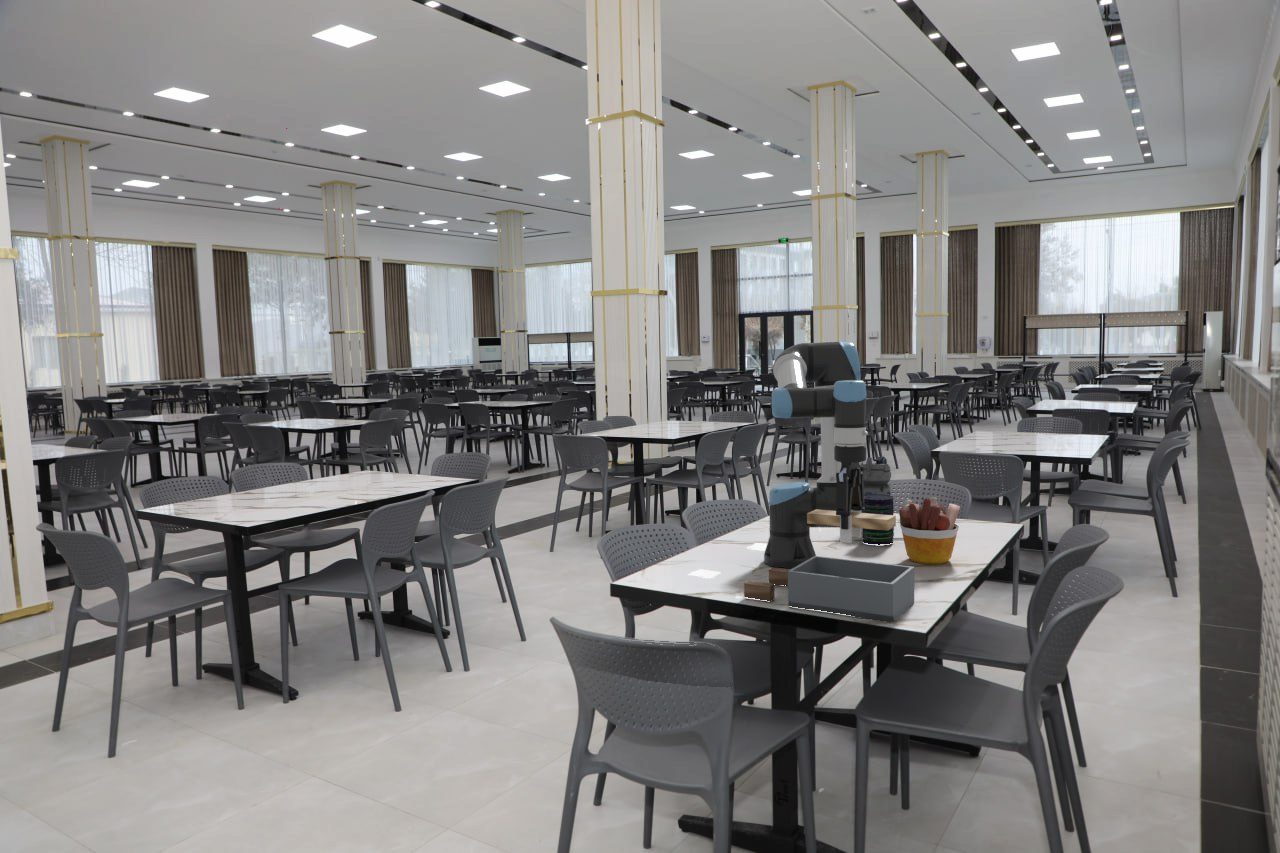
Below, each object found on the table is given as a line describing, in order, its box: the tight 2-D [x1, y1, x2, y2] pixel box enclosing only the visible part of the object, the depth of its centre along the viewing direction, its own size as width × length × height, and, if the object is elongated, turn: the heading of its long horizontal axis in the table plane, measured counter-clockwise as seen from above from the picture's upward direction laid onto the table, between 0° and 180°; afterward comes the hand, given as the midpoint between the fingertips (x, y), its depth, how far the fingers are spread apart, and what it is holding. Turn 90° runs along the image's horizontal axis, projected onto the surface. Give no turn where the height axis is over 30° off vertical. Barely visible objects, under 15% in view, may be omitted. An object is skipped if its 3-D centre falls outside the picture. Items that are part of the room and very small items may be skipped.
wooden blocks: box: [743, 566, 791, 602], centre depth 224 cm, size 18×7×4 cm, turn 147°
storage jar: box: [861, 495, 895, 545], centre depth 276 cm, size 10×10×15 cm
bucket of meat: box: [898, 496, 961, 565], centre depth 252 cm, size 20×16×20 cm
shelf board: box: [807, 509, 897, 530], centre depth 209 cm, size 20×6×2 cm, turn 57°
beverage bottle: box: [860, 455, 892, 513], centre depth 300 cm, size 10×13×25 cm
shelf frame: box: [787, 555, 915, 623], centre depth 210 cm, size 26×18×9 cm
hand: (850, 539), depth 209 cm, fingers closed on shelf board, 6 cm apart
